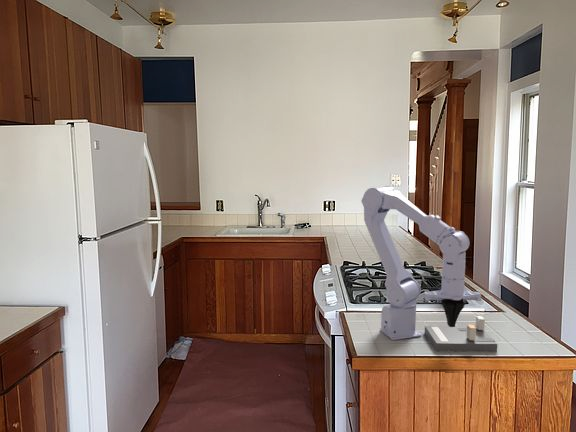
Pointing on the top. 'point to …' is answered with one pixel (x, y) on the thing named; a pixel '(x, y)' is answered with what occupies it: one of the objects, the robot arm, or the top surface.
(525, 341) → the top surface
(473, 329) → the breaker handle
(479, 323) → the handle
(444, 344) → the box
